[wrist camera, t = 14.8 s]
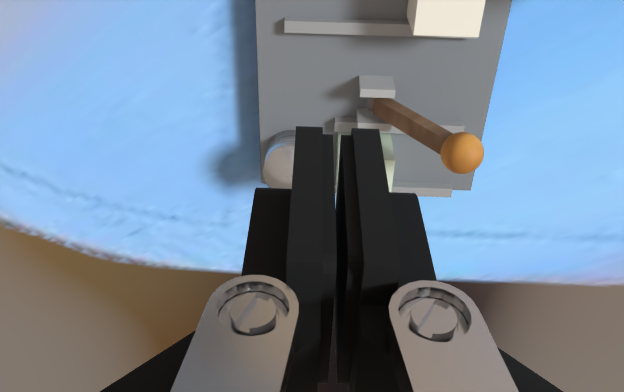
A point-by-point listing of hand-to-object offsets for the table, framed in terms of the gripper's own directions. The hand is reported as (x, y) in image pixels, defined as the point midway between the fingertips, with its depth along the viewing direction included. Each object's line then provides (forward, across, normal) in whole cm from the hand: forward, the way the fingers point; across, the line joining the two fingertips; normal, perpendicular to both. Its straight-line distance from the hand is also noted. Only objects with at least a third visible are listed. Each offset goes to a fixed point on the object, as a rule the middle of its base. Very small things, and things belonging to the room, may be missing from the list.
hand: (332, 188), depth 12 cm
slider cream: (+28, -8, +4) cm, 30 cm away
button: (+28, +2, +17) cm, 33 cm away
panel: (+30, -4, +10) cm, 32 cm away
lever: (+27, -4, +12) cm, 30 cm away
